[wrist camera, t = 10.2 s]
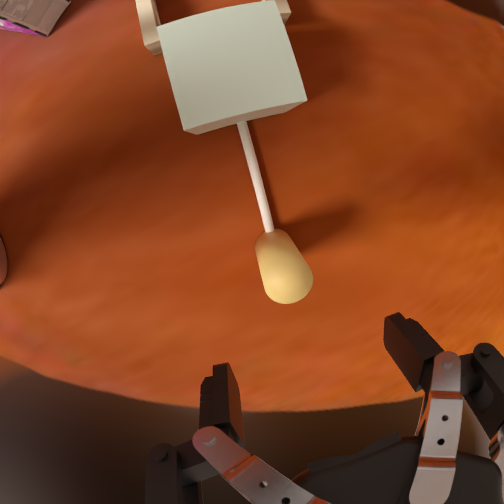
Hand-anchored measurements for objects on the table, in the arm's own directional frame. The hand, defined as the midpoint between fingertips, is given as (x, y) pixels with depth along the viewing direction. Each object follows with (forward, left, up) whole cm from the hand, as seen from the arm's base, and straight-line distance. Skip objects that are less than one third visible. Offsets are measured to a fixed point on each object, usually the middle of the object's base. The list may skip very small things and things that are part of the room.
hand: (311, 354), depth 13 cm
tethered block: (+6, +6, -14) cm, 16 cm away
